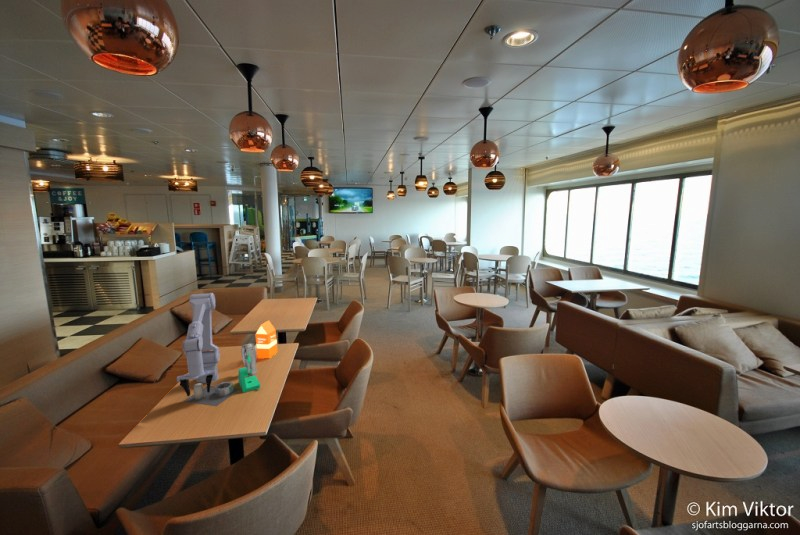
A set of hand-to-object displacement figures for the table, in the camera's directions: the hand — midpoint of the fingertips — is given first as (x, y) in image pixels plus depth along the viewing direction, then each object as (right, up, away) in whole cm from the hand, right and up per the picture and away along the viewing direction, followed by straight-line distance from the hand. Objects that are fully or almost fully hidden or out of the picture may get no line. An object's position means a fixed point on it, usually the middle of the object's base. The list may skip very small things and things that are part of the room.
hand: (198, 393), depth 147 cm
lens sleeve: (+9, -2, +4) cm, 10 cm away
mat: (+5, -3, +2) cm, 6 cm away
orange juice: (+12, +4, +47) cm, 49 cm away
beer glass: (+12, +1, +25) cm, 28 cm away
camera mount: (+18, -1, +11) cm, 21 cm away
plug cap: (0, -2, 0) cm, 2 cm away
